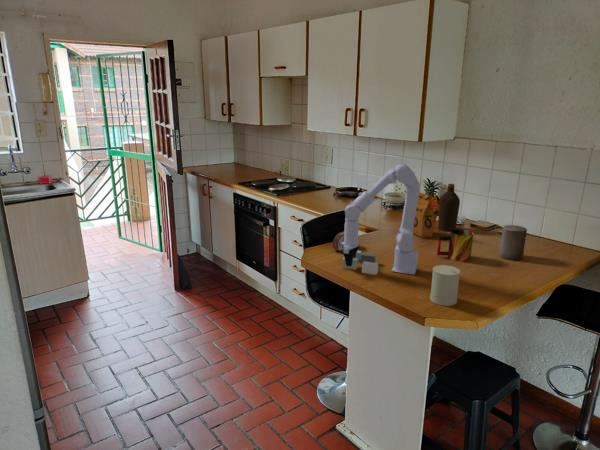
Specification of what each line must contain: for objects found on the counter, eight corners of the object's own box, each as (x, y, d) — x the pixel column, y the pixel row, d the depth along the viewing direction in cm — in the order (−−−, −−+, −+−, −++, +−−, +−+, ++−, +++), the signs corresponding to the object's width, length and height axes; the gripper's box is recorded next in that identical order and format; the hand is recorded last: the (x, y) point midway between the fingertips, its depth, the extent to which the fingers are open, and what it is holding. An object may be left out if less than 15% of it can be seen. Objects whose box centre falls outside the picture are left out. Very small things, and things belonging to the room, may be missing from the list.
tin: (349, 244, 213) (350, 227, 211) (355, 245, 211) (356, 228, 209) (332, 252, 202) (332, 234, 199) (337, 253, 200) (338, 236, 198)
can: (450, 308, 148) (454, 275, 145) (425, 300, 154) (428, 268, 151) (461, 299, 155) (464, 268, 152) (436, 292, 161) (439, 261, 158)
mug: (435, 257, 196) (438, 231, 193) (459, 252, 202) (462, 228, 199) (451, 264, 188) (454, 237, 185) (475, 259, 193) (478, 234, 190)
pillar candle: (527, 260, 194) (532, 227, 190) (507, 261, 192) (512, 228, 188) (513, 252, 203) (518, 221, 199) (494, 253, 201) (498, 222, 197)
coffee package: (419, 239, 221) (422, 196, 215) (406, 232, 233) (409, 191, 226) (435, 237, 224) (440, 195, 218) (422, 230, 236) (425, 190, 229)
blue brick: (361, 259, 193) (361, 250, 192) (359, 261, 191) (359, 253, 189) (348, 257, 195) (348, 249, 194) (346, 259, 193) (346, 251, 192)
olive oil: (455, 233, 232) (460, 186, 225) (434, 230, 236) (439, 184, 229) (458, 227, 241) (463, 183, 234) (438, 225, 245) (442, 181, 238)
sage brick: (357, 267, 184) (358, 258, 183) (355, 269, 181) (356, 260, 180) (343, 265, 186) (344, 256, 185) (341, 267, 183) (342, 258, 182)
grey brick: (377, 272, 179) (378, 263, 178) (376, 275, 176) (376, 265, 175) (363, 270, 181) (363, 261, 180) (361, 272, 178) (362, 263, 177)
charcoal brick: (375, 263, 189) (376, 254, 188) (374, 265, 186) (374, 256, 185) (362, 261, 191) (362, 252, 190) (360, 263, 188) (361, 254, 187)
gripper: (346, 227, 187) (345, 257, 191) (336, 237, 174) (335, 268, 178) (362, 229, 185) (361, 259, 189) (353, 239, 172) (352, 271, 176)
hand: (349, 264), depth 183 cm, fingers closed on sage brick, 3 cm apart
